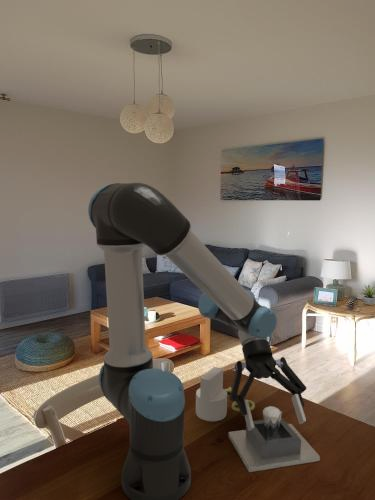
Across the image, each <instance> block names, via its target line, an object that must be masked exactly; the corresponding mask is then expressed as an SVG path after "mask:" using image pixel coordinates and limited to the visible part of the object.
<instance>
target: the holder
mask: <svg viewBox="0 0 375 500" xmlns="http://www.w3.org/2000/svg"><path fill="white" fill-rule="evenodd" d="M253 424H254V428H253V429H252V430H250V431H248V428H247V424H246V423H245V429H242V430H234V431H229V432H228V438H229V440H230V442H231V443H232V445H233V447H234V449H235V451H236V452H237V454H238V455H239V457H240V460H241V461H242V462H243V464H244V466H245V468H246V469H247V471H248V473H253V472H260V471H266V470H272V469H279V468H284V467H291V466H297V465H303V464H308V463H316V462H320V460H321V456H320V455H319V454H318V452H316V450H315V449H314V448H313V447H312V446H311V445H310V443H309V442H308V441H307V440H306V438H304V437H303V435H302V434H301V433H300V432H299V430H297V429H296V427H295V426H294V424H292V423H287V421H285V419H284V418H283V417H282V416H281V421H280V427H279V435H278V439H276V440H269V441H265V439H264V426H263V419H259V420H253Z"/></svg>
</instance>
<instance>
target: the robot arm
mask: <svg viewBox="0 0 375 500" xmlns="http://www.w3.org/2000/svg"><path fill="white" fill-rule="evenodd" d="M87 211H88V212H87V213H88V217H89V218H88V219H89V221H90V223H91V224H92V226H93V227H94V228H95V235H96V245H97V246H98V247H99V248H100V249H101V250H102V252H103V253H104V254H103V255H104V269H105V271H104V273H105V287H106V288H105V291H106V305H107V309H106V310H107V322H108V323H107V325H108V342H109V344H108V345H109V350H108V351H107V352H106V353H105V354H104V356H103V365H102V366H101V368H100V370H99V373H98V383H99V384H98V385H99V387H100V390H101V392H102V394H103V396H104V397H105V398H106V400H107V401H108V402H109V403H111V405H112V406H113V407H114V408H115V409H116V411H118V412H119V413H120V415H121V416H122V417H123V418H124V419H125V420H126V421H127V422H128V425H129V450H128V452H127V455H126V458H125V461H124V464H123V467H122V469H121V488H122V490H123V493H124V494H125V495H126V497H128V498H129V499H130V500H180V499H182V498H183V497H184V496H185V495H186V493H188V491H189V489H190V487H191V482H192V471H191V465H190V463H189V459H188V457H187V454H186V451H185V448H184V447H185V446H184V435H185V433H184V431H185V428H184V426H185V405H186V397H185V390H184V385H183V382H182V381H181V379H180V378H179V377H178V376H177V375H176V374H174V373H173V372H171V371H169V370H163V369H161V368H154V362H153V361H154V360H153V351H152V350H151V349H150V348H149V347H147V344H146V342H147V341H146V324H145V323H146V322H145V321H146V320H145V296H144V276H143V275H144V270H143V268H144V267H143V249H144V248H145V246H147V247H148V248H149V249H151V250H152V251H153V252H154V253H155V254H156V255H158V256H159V257H160V256H165V257H166V258H167V259H168V260H169V261H170V262H171V263H172V264H174V265H175V267H176V268H177V269H179V270H180V272H182V273H183V274H184V275H185V276H186V277H187V278H188V279H189V280H190V281H191V282H192V283H193V284H194V285H195V286H196V287H197V288H198V289H199V290H201V292H202V294H201V295H200V297H199V299H198V300H199V301H198V311H199V314H200V315H201V316H202V317H203V318H207V319H209V320H216V321H218V322H220V323H222V324H225V325H227V326H230V327H232V328H233V329H234V328H235V329H236V330H237V335H238V338H239V342H240V345H241V350H242V354H243V358H244V361H245V362H242V361H241V360H238V361H236V363H235V365H234V372H235V373H234V377H233V380H232V381H233V382H232V385H231V388H232V389H231V393H230V395H229V401H231V402H235V401H236V403H237V404H238V405H237V406H238V408H239V409H240V416H241V417H243V416H244V419H245V425H246V424H247V428H248V431H250V430H252V429H253V428H254V424H253V421H254V420H253V416H252V412H251V411H252V410H250V407H251V406H250V404H249V403H248V400H249V399H245V398H246V396H247V395H248V394H247V393H248V392H249V389H250V388H251V386H252V384H253V382H254V381H255V378H256V380H261V379H262V378H263V379H270V378H271V379H272V380H275V381H276V382H277V383H278V384H280V385H281V386H282V387H283V388H284V389H285V390H286V391H288V392H289V393H290V394H291V395H292V396H291V398H290V399H291V401H292V405H293V407H294V412H295V415H296V418H297V421H298V424H299V425H301V424H303V423H305V422H306V421H307V419H306V415H305V412H304V409H303V408H304V407H305V402H304V399H303V397H302V393H304V392H305V391H306V390H307V386H306V385H305V384H304V383H303V381H302V380H301V379H300V378H299V377H298V375H296V373H295V372H294V371H293V369H292V368H291V367H290V366H289V364H288V363H287V360H286V358H285V357H283V356H282V357H280V358H277V359H275V358H274V356H273V352H272V348H271V345H270V342H269V341H268V339H269V337H270V336H271V335H272V334H273V332H274V331H275V329H276V328H277V322H278V320H277V315H276V313H275V312H274V310H272V309H271V308H269V307H267V306H265V305H261V304H260V303H258V301H257V298H256V295H255V294H254V292H253V291H251V290H248V289H246V288H245V287H243V285H242V284H241V283H240V282H239V281H238V280H237V279H236V278H235V277H234V276H233V274H232V273H231V272H230V271H229V270H228V269H227V268H226V267H225V265H224V264H223V263H221V261H220V260H219V259H218V258H217V257H216V256H215V255H214V253H212V251H210V250H209V248H208V247H207V246H206V245H205V244H204V243H203V242H202V241H201V240H200V239H199V238H198V237H197V236H196V234H195V233H194V232H193V231H192V229H191V228H192V224H191V222H190V221H189V219H188V218H187V217H186V216H185V215H184V214H183V213H182V212H181V211H180V209H178V208H177V207H176V206H175V205H174V203H172V201H171V200H169V199H168V197H166V196H165V195H164V194H163V193H161V192H160V191H159V190H158V189H156V188H154V187H153V186H151V185H149V184H147V183H142V182H130V183H129V182H128V183H121V182H119V183H118V182H116V183H110V184H107V185H103V186H102V187H100V188H99V189H98V190H97V191H95V193H94V194H93V195H92V197H91V198H90V201H89V203H88V209H87ZM276 366H277V367H276ZM278 368H279V369H280V370H281V371H280V370H279V369H278ZM245 369H246V370H247V371H248V372H249V374H248V376H247V378H246V380H245V383H244V385H243V386H242V389H241V390H240V392H239V388H240V383H241V379H242V374H243V371H244V370H245ZM281 372H282V373H283V374H284V375H283V374H282V373H281ZM238 393H239V394H238Z"/></svg>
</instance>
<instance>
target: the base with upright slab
mask: <svg viewBox="0 0 375 500" xmlns="http://www.w3.org/2000/svg"><path fill="white" fill-rule="evenodd" d="M199 383H200V384H199V385H200V387H199V388H197V390H196V391H195V392H196V393H195V414H196V416H197V417H198V418H199V419H200V420H203V421H206V422H217V421H222V420H223V419H225V418H226V417H227V414H228V413H227V412H228V392H226V391H225V390H224V389H225V388H223V387H224V386H223V385H224V384H223V383H224V369H223V368H221V367H217V366H213V367H212V368H211V369H210V370H208V371H207V372H206V373H204V374H203V375H202V376H201V377H200V382H199Z"/></svg>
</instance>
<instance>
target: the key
mask: <svg viewBox="0 0 375 500" xmlns="http://www.w3.org/2000/svg"><path fill="white" fill-rule="evenodd" d="M223 389H224V390H225V391H226V392H227V393H230V394H231V389H232V386H229V387H227V388H223ZM247 400H248V403H249V405H250V406H249V407H250V411H253V410H254V409H255V408H256V403H255V402H254V401H253V400H250V399H247ZM236 406H239V405H238V404H237V403H236V401H232V404H231V409H232V410H233V411H235V412H240V409H239V407H236Z"/></svg>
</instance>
